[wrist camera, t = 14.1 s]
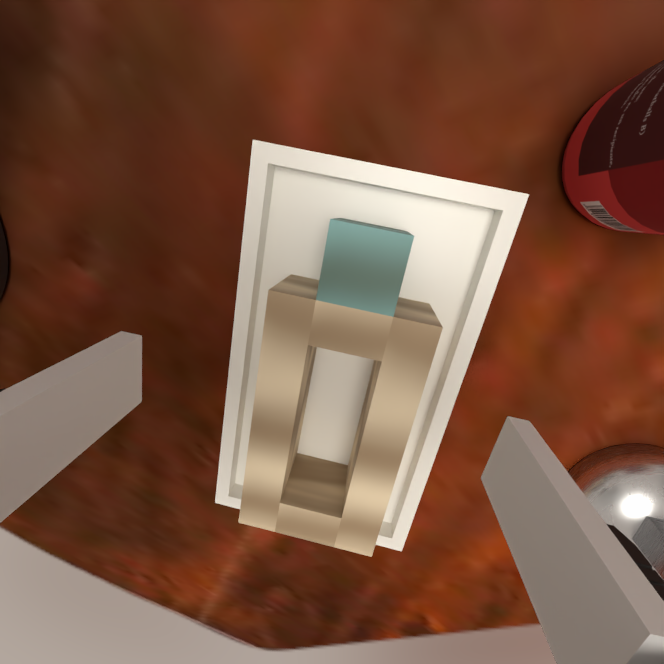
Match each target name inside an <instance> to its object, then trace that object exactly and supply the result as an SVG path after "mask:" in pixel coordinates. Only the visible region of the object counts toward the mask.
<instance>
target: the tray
mask: <svg viewBox="0 0 664 664" xmlns="http://www.w3.org/2000/svg"><path fill="white" fill-rule="evenodd" d="M528 196H529V194H525V193H520V192H515V191H510V190H505V189H500V188H495V187H490V186H484V185H479V184H474V183H469V182H464V181H459V180H454V179H449V178H444V177H439V176H434V175H429V174H424V173H419V172H414V171H409V170H404V169H399V168H393V167H388V166H383V165H378V164H373V163H368V162H363V161H358V160H353V159H348V158H343V157H338V156H333V155H328V154H323V153H318V152H313V151H308V150H302V149H297V148H292V147H287V146H282V145H277V144H272V143H267V142H262V141H257V140H253V142H252V152H251V161H250V171H249V181H248V190H247V200H246V209H245V219H244V229H243V238H242V248H241V257H240V267H239V277H238V286H237V296H236V305H235V315H234V325H233V334H232V344H231V354H230V363H229V373H228V382H227V392H226V402H225V411H224V421H223V430H222V440H221V450H220V459H219V469H218V478H217V488H216V498H215V503H218V504H222V505H226V506H229V507H233V508H237V509H240V506H241V499H242V491H243V483H244V475H245V467H246V460H247V452H248V444H249V436H250V429H251V421H252V413H253V405H254V398H255V390H256V382H257V374H258V367H259V359H260V351H261V343H262V335H263V328H264V320H265V312H266V304H267V297H268V290H269V289H270V288H272V287H273V286H275V285H276V284H278V283H279V282H281V281H282V280H283V279H285V278H286V277H288V276H289V275H291V274H293V275H298V276H302V277H307V278H312V279H317V280H319V279H320V274H321V268H322V262H323V257H324V251H325V246H326V240H327V234H328V229H329V223H330V219H334V218H345V219H350V220H355V221H360V222H365V223H370V224H375V225H380V226H385V227H390V228H395V229H400V230H405V231H407V232H409V233H411V234H412V235H414V239H413V243H412V247H411V251H410V255H409V258H408V262H407V266H406V270H405V274H404V278H403V282H402V286H401V289H400V293H399V297H401V298H406V299H411V300H415V301H420V302H425V303H429V304H430V305H431V307H432V309H433V311H434V312H435V314H436V316H437V318H438V320H439V321H440V323H441V325H442V327H443V329H442V332H441V335H440V339H439V342H438V345H437V348H436V352H435V355H434V358H433V361H432V364H431V368H430V371H429V374H428V377H427V380H426V384H425V387H424V390H423V393H422V396H421V400H420V403H419V406H418V409H417V413H416V416H415V419H414V422H413V425H412V429H411V432H410V435H409V438H408V441H407V445H406V448H405V451H404V454H403V457H402V461H401V464H400V467H399V470H398V474H397V477H396V480H395V483H394V486H393V490H392V493H391V496H390V499H389V502H388V506H387V509H386V512H385V515H384V519H383V522H382V525H381V528H380V531H379V535H378V538H377V541H376V545H379V546H383V547H387V548H391V549H395V550H399V551H402V549H403V546H404V543H405V541H406V538H407V535H408V532H409V529H410V527H411V524H412V521H413V518H414V515H415V513H416V510H417V507H418V504H419V501H420V499H421V496H422V493H423V490H424V487H425V485H426V482H427V479H428V476H429V473H430V471H431V468H432V465H433V462H434V459H435V457H436V454H437V451H438V448H439V445H440V443H441V440H442V437H443V434H444V431H445V429H446V426H447V423H448V420H449V418H450V415H451V412H452V409H453V406H454V404H455V401H456V398H457V395H458V392H459V390H460V387H461V384H462V381H463V378H464V376H465V373H466V370H467V367H468V364H469V362H470V359H471V356H472V353H473V350H474V348H475V345H476V342H477V339H478V336H479V334H480V331H481V328H482V325H483V322H484V320H485V317H486V314H487V311H488V308H489V306H490V303H491V300H492V297H493V294H494V292H495V289H496V286H497V283H498V280H499V278H500V275H501V272H502V269H503V266H504V264H505V261H506V258H507V255H508V252H509V250H510V247H511V244H512V241H513V238H514V236H515V233H516V230H517V227H518V224H519V222H520V219H521V216H522V213H523V210H524V208H525V205H526V202H527V199H528ZM373 363H374V360H372V359H368V358H364V357H359V356H355V355H350V354H346V353H341V352H337V351H332V350H328V349H323V348H319V347H317V349H316V355H315V360H314V365H313V371H312V376H311V381H310V387H309V392H308V398H307V403H306V408H305V414H304V419H303V424H302V430H301V435H300V440H299V446H298V451H297V453H300V454H304V455H308V456H312V457H316V458H320V459H325V460H329V461H333V462H337V463H341V464H345V465H348V463H349V459H350V455H351V451H352V447H353V443H354V439H355V435H356V431H357V427H358V423H359V419H360V415H361V411H362V407H363V403H364V399H365V395H366V391H367V387H368V383H369V379H370V375H371V371H372V367H373Z"/></svg>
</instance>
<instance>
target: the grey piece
mask: <svg viewBox="0 0 664 664" xmlns="http://www.w3.org/2000/svg"><path fill="white" fill-rule="evenodd" d="M568 473H569V475H570V476H571V477H572V479H573V480H574V481H575V483H576V484H577V485H578V487H579V488H580V490H581V491H582V492H583V494H584V495H585V496H586V498H587V499H588V500H589V502H590V503H591V504H592V506H593V507H594V508H595V510H596V511H597V512H598V514H599V515H600V516H601V518H602V519H603V520H604V522H605V523H606V524H609V525H613V526H615V527H616V528H617V529H618V530H619V531H620V532H622V533H623V534H624V535H625V536H626V537H627V538H628V539H629V540H630V541H632V542H633V543H634V544H635V545H636V546H637V547H638V549H639V550H640V551H641V553H642V554H643V555H644V556H645V558H646V559H647V560H648V561H649V563H650V564H651V565H652V569H653V570H656V572H657V573H658V574H659V576H660V577H661V578H662V579H663V581H664V448H660V447H657V446H653V445H647V444H624V445H617V446H612V447H608V448H605V449H602V450H599V451H597V452H595V453H593V454H591V455H589V456H587V457H585V458H584V459H582V460H581V461H580V462H578V463H577V464H576V465H575V466H574V467H573V468H571V469H570V471H569V472H568Z"/></svg>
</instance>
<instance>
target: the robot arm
mask: <svg viewBox="0 0 664 664" xmlns="http://www.w3.org/2000/svg"><path fill="white" fill-rule="evenodd" d="M7 274H8V254H7V246H6V240H5V236H4V232H3V228H2V225H1V222H0V298H1V296H2V294H3V291H4V288H5V285H6V280H7ZM141 402H142V336H141V335H137V334H132V333H128V332H123V331H121V332H119V333H117V334H115V335H113V336H111V337H109V338H107V339H105V340H103V341H101V342H99V343H97V344H95V345H93V346H91V347H89V348H87V349H85V350H83V351H81V352H79V353H77V354H75V355H73V356H71V357H69V358H67V359H65V360H63V361H61V362H59V363H57V364H55V365H53V366H51V367H49V368H47V369H45V370H43V371H41V372H39V373H37V374H35V375H33V376H31V377H29V378H27V379H25V380H23V381H21V382H19V383H17V384H15V385H13V386H11V387H9V388H7V389H5V388H4V389H0V523H1V522H2V521H3V520H4V519H5V518H6V517H8V516H9V515H10V514H11V513H12V512H13V511H15V510H16V509H17V508H18V507H19V506H20V505H22V504H23V503H24V502H25V501H26V500H27V499H29V498H30V497H31V496H32V495H33V494H34V493H36V492H37V491H38V490H39V489H40V488H41V487H43V486H44V485H45V484H46V483H47V482H48V481H50V480H51V479H52V478H53V477H54V476H55V475H57V474H58V473H59V472H60V471H61V470H62V469H64V468H65V467H66V466H67V465H68V464H69V463H71V462H72V461H73V460H74V459H75V458H76V457H78V456H79V455H80V454H81V453H82V452H83V451H85V450H86V449H87V448H88V447H89V446H90V445H92V444H93V443H94V442H95V441H96V440H97V439H99V438H100V437H101V436H102V435H103V434H104V433H106V432H107V431H108V430H109V429H110V428H111V427H113V426H114V425H115V424H116V423H117V422H118V421H120V420H121V419H122V418H123V417H124V416H125V415H127V414H128V413H129V412H130V411H131V410H132V409H134V408H135V407H136V406H137V405H138V404H140V403H141ZM481 480H482V482H483V485H484V487H485V490H486V492H487V495H488V497H489V499H490V502H491V504H492V507H493V509H494V512H495V514H496V517H497V519H498V521H499V524H500V526H501V529H502V531H503V534H504V536H505V539H506V541H507V543H508V546H509V548H510V551H511V553H512V556H513V558H514V561H515V563H516V566H517V568H518V570H519V573H520V575H521V578H522V580H523V583H524V585H525V588H526V590H527V592H528V595H529V597H530V600H531V602H532V605H533V607H534V610H535V612H536V614H537V617H538V619H539V622H540V624H541V627H542V629H543V632H544V634H545V637H546V639H547V641H548V644H549V646H550V649H551V651H552V654H553V656H554V659H555V661H556V663H557V664H664V581H663V579H662V578H661V577H660V576H659V574H658V573H657V572H656V570H653V569H652V565H651V564H650V563H649V561H648V560H647V559H646V558H645V556H644V555H643V554H642V553H641V551H640V550H639V549H638V547H637V546H636V545H635V544H634V543H633V542H632V541H630V540H629V539H628V538H627V537H626V536H625V535H624V534H623V533H622V532H620V531H619V530H618V529H617V528H616V527H615V526H613V525H609V524H606V523H605V522H604V520H603V519H602V518H601V516H600V515H599V514H598V512H597V511H596V510H595V508H594V507H593V506H592V504H591V503H590V502H589V500H588V499H587V498H586V496H585V495H584V494H583V492H582V491H581V490H580V488H579V487H578V485H577V484H576V483H575V481H574V480H573V479H572V477H571V476H570V475H569V473H568V472H567V471H566V469H565V468H564V467H563V465H562V464H561V463H560V461H559V460H558V459H557V457H556V456H555V455H554V453H553V452H552V451H551V449H550V448H549V447H548V445H547V444H546V442H545V441H544V440H543V438H542V437H541V436H540V434H539V433H538V432H537V430H536V429H535V428H534V426H533V425H532V424H531V422H530V421H527V420H523V419H518V418H514V417H509V416H507V418H506V421H505V423H504V425H503V428H502V430H501V432H500V435H499V437H498V439H497V442H496V444H495V446H494V449H493V451H492V453H491V455H490V458H489V460H488V462H487V465H486V467H485V469H484V472H483V474H482V476H481Z"/></svg>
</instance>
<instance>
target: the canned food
mask: <svg viewBox="0 0 664 664" xmlns="http://www.w3.org/2000/svg"><path fill="white" fill-rule="evenodd" d="M562 180H563V184H564V189H565V192H566V194H567V196H568V198H569V200H570V202H571V203H572V205H573V206H574V207H575V208H576V209H577V211H578V212H580V213H581V214H582V215H583V216H585V217H586V218H587V219H589V220H590V221H591V222H593V223H595V224H597V225H599V226H602V227H604V228H607V229H612V230H616V231H623V232H635V233H648V234H660V235H664V60H663V61H661V62H660V63H658V64H656V65H654V66H652V67H650V68H649V69H647V70H645V71H643V72H641V73H639V74H638V75H636V76H634V77H632V78H630V79H628V80H627V81H625V82H623V83H622V84H620V85H618V86H617V87H615V88H613V89H612V90H610V91H609V92H608V93H606V94H605V95H604V96H603V97H602V98H601V99H599V100H598V101H597V102H596V103H595V104H594V105H593V106H592V107H591V109H590V110H589V111H588V112H587V113H586V114H585V116H584V117H583V118H582V119H581V121H580V122H579V124H578V125H577V127H576V129H575V130H574V132H573V133H572V135H571V137H570V139H569V142H568V144H567V147H566V149H565V153H564V158H563V163H562Z"/></svg>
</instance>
